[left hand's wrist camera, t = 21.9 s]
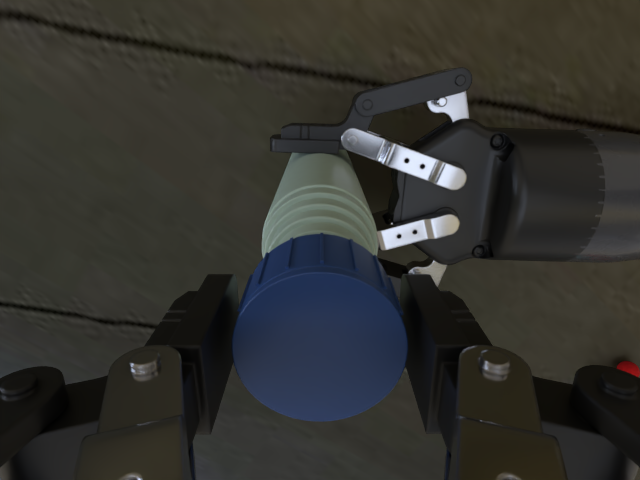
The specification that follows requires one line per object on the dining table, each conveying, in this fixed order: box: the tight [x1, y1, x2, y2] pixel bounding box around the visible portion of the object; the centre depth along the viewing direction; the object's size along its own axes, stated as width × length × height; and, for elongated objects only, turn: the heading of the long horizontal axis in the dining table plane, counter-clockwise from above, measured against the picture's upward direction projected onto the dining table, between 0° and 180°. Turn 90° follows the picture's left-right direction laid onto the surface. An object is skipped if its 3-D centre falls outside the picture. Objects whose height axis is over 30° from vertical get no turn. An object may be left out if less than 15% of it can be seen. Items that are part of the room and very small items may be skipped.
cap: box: [232, 233, 408, 421], centre depth 11 cm, size 4×4×2 cm
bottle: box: [262, 150, 378, 258], centre depth 21 cm, size 4×4×22 cm
